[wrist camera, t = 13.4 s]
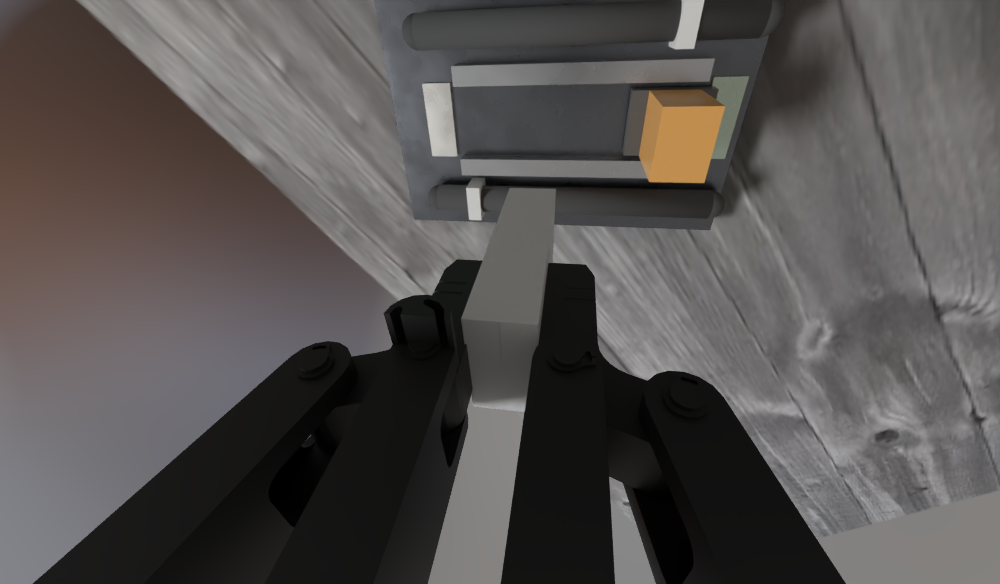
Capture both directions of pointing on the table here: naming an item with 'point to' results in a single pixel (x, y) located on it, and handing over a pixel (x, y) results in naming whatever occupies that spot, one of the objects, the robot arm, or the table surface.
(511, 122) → the panel
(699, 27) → the pair of grey rails
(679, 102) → the orange rectangular block
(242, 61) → the table surface
